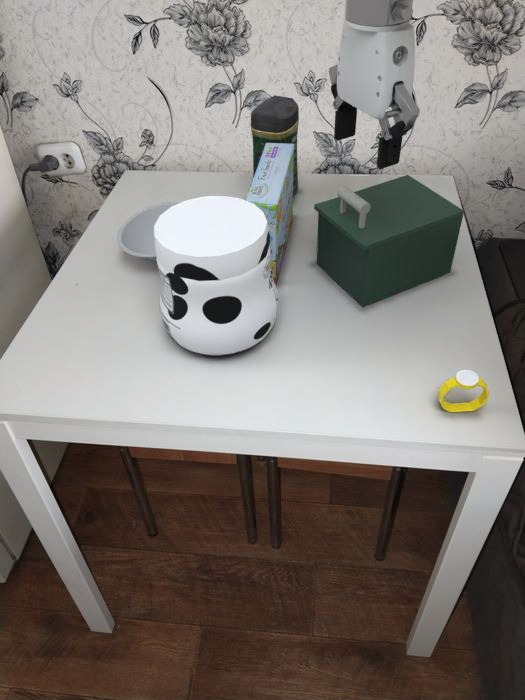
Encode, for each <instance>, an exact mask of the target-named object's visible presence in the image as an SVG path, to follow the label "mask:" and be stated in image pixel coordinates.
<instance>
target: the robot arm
mask: <svg viewBox="0 0 525 700" xmlns="http://www.w3.org/2000/svg"><path fill="white" fill-rule="evenodd" d="M413 4H414V0H345V6H344V7H345V8H344V20H343V24H342V29H341V35H340V43H339V49H338V56H337V58H338V60H337V64H334V65H333V66H330V67H329V68H328V76H329V80H330V84H331V85H330V92H331V94H332V97H333V99H334V100H333V102H332V107H333V109H334V110H335V111H334V128H333V129H334V130H333V131H334V133H333V139H334V140H335V141H341V140H346V139H348V138H349V139H350V138H352V137H354V136H355V135H356V133H357V132H356V130H357V120H358V119H357V117H358V110H359V111H361V112H362V113H364V114H366V115H368V116H369V117H372V118H373V119H375V120H378V124H379V127H380V130H381V133H382V137H379V140H378V147H377V148H378V149H377V157H376V167H377V168H378V169H380V170H382V169H385V168H388V167H392V166H395V165H398V164H399V163H400V157H401V153H402V151H401V150H402V143H403V137H404V136H406V135H407V134H408V132H409V131H410V130H412V129H413V127H414V124H415V122H416V121H417V119H418V117H419V116H420V113H421V110H420V107H419V106H418V104H417V103H416V101H415V100H414V98H413V89H414V79H415V64H416V40H415V26H414V25H412V24H411V21H412V17H413V13H414V10H413ZM389 108H391V109H390V110H388V109H389ZM386 110H388V111H386ZM391 118H393V121H394V124H393V125H392V126H391V124H390V121H389V119H391Z"/></svg>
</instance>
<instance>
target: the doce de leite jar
mask: <svg viewBox="0 0 525 700" xmlns="http://www.w3.org/2000/svg"><path fill="white" fill-rule="evenodd" d="M180 202H181V203H179V204H177V205H174V206H172V207H170V208H169V209H168V210H167V211H165V212H164V213H163V214H161V215H160V216H159V218H158V220H157V222H156V224H155V225H154V241H155V251H156V260H155V261H156V264H157V269H158V272H159V277H160V283H161V286H160V293H159V312H160V316H161V320H162V322H163V325H164V328H165V330H166V332H167V333H168V335H169V336H170V338H171V339H172V340H173V341H174V342H175V343H176V344H177V345H179V346H180V347H181V348H183V349H185V350H187V351H189V352H191V353H195V354H199V355H203V356H209V357H210V356H211V357H215V356H216V357H218V356H219V357H220V356H231V355H235V354H239V353H242V352H244V351H248V350H249V349H251V348H253V347H255V346H257V345H258V344H260V343H261V342H262V341H263V340H264V339H266V337H267V336H268V334H269V333H270V332H271V331H272V329H273V327H274V325H275V322H276V318H277V314H278V307H279V296H278V290H277V287H276V285H275V283H274V281H273V278H272V275H271V271H270V233H269V227H268V223H267V220H266V217H265V215H264V212H263V211H262V210H261V209H259V208H258V207H257V206H256V205H255V204H253V203H250V202H248V201H246V199H242V198H241V197H235V196H226V195H208V196H207V195H206V196H205V195H204V196H200V197H196V198H191V199H186V200H184V201H180Z"/></svg>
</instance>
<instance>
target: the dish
mask: <svg viewBox="0 0 525 700" xmlns="http://www.w3.org/2000/svg"><path fill="white" fill-rule="evenodd" d="M181 202H182V201H171V202H162V203H157V204H154V205H151V206H149V207H146V208H143V209H142V210H139V211H138V212H135V213H134V214H132V215H131V216H130V217H129V218H128V219H126V221H125V222H123V223H122V225H121V226H120V228H119V229H118V232H117V236H116V237H117V238H116V242H117V245H118V247H119V248H120V249H121V251H123V252H124V253H125V254H127V255H130V256H131V257H136V258H139V259H141V260H146V261H157V260H156V251H155V241H154V225H155V224H156V222H157V220H158V218H159V216H160V215H161V214H163V213H164V212H165V211H167V210H168V209H169V208H170V207H172V206H174V205H177V204H179V203H181Z"/></svg>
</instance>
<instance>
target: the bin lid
mask: <svg viewBox="0 0 525 700" xmlns="http://www.w3.org/2000/svg"><path fill="white" fill-rule="evenodd" d="M336 195H337V197H334V198H331V199H328V200H326V201H325V200H324V201H321V202H318V203H315V204H314V205H313V208H314V210H315V211H316V212H317V213H320V214H321V215H322V216H323V217H324V218H326V219H327V220H328V221H329V222H330V223H332V224H333V225H334V226H335V227H336V228H338V229H339V230H340V231H341V232H342V233H344V234H345V235H346V236H347V237H348V238H350V239H351V240H352V241H353V242H354V243H356V244H357V245H358V246H359V247H360V248H362V249H363V250H364V251H365V250H368V249H371V248H374V247H377V246H379V245H382V244H385V243H388V242H390V241H393V240H396V239H399V238H401V237H404V236H407V235H410V234H413V233H415V232H418V231H421V230H424V229H426V228H429V227H432V226H435V225H437V224H440V223H443V222H446V221H449V220H451V219H454V218H457V217H460V216H462V215H463V216H464V213H465V210H464V209H463V208H461V207H459V206H458V205H456V204H454V203H452V202H451V201H450V200H448V199H447V198H445V197H443V196H442V195H440V194H439V193H437V192H436V191H434V190H432V189H431V188H430V187H428V186H426V185H425V184H423V183H422V182H420V181H418V180H417V179H416V178H414V177H412V176H411V175H409V174H406V175H403V176H400V177H397V178H393V179H390V180H387V181H384V182H380V183H377V184H375V185H374V184H373V185H372V186H369V187H368V186H367V187H366V188H365V187H364V188H362V189H359V190H355V191H353V190H352V189H350V188H348V186H346V185H341V186H340V187H339V188H338V190H337V193H336Z"/></svg>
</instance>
